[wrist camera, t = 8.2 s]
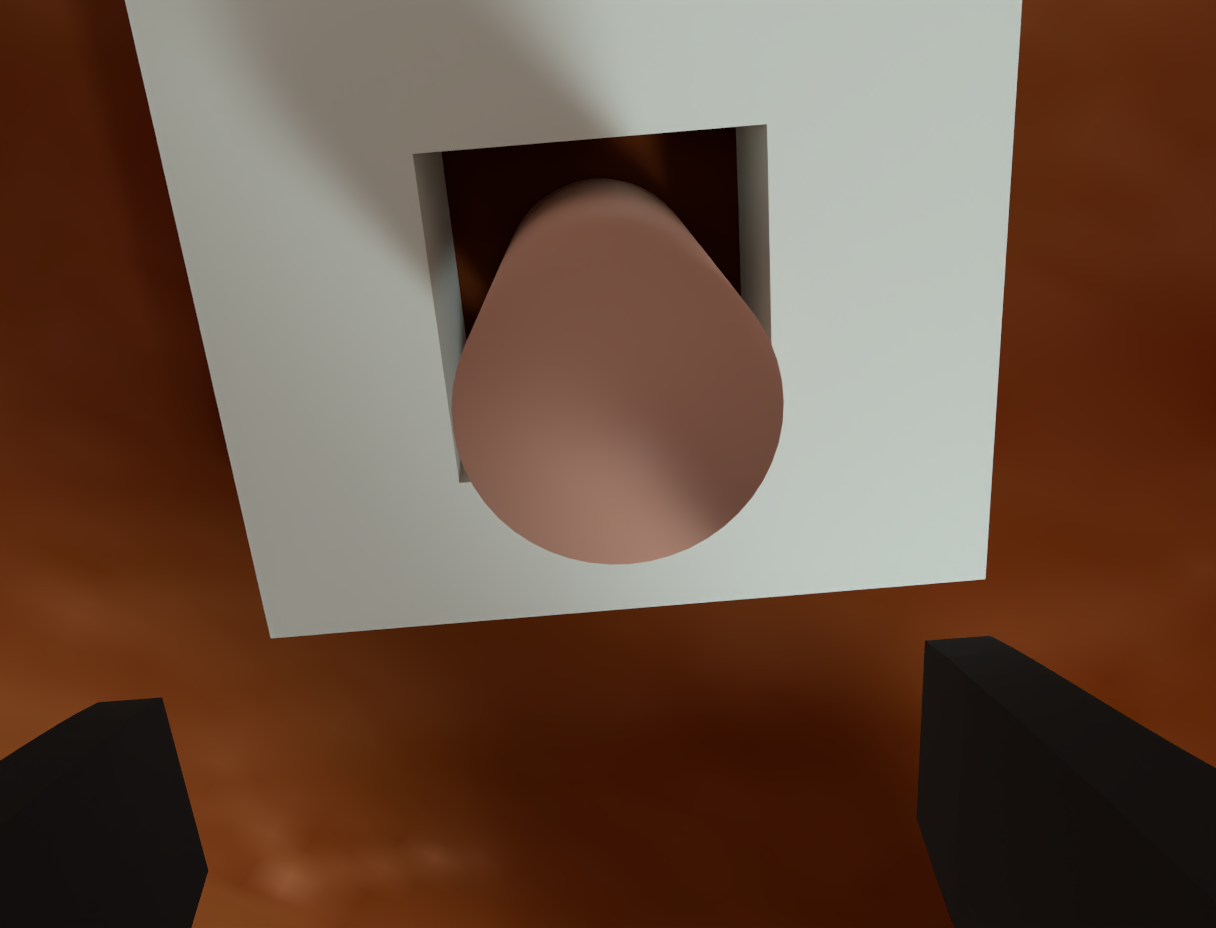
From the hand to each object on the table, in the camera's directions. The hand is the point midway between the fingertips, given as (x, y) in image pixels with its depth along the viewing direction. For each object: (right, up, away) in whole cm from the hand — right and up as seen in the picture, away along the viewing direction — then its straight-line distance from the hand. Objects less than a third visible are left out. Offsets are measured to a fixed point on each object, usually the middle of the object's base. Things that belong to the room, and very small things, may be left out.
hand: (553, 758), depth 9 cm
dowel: (0, +6, +8) cm, 10 cm away
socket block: (0, +6, +8) cm, 10 cm away
